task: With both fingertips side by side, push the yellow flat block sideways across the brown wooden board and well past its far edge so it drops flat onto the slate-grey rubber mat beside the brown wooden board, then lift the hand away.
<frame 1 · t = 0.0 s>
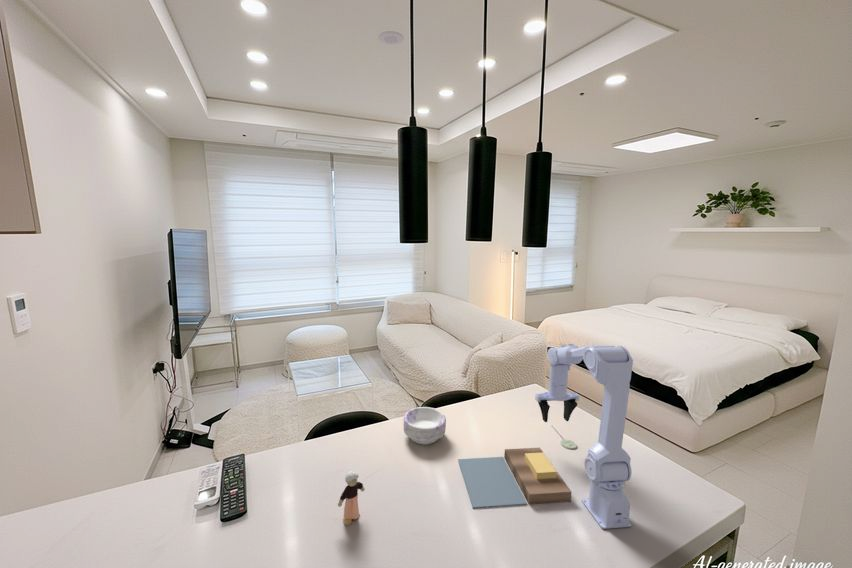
hand: (555, 420, 117), 10 cm above the counter, tool pointing down, fingers open, 7 cm apart
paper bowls: (424, 437, 124), on the counter
mat: (489, 480, 102), on the counter
grandmother figurine: (352, 517, 88), on the counter
pale green spoon: (561, 438, 125), on the counter
yellow flat block: (539, 468, 103), point 3 cm above the counter, touching brown wooden board
brown wooden board: (534, 477, 103), on the counter
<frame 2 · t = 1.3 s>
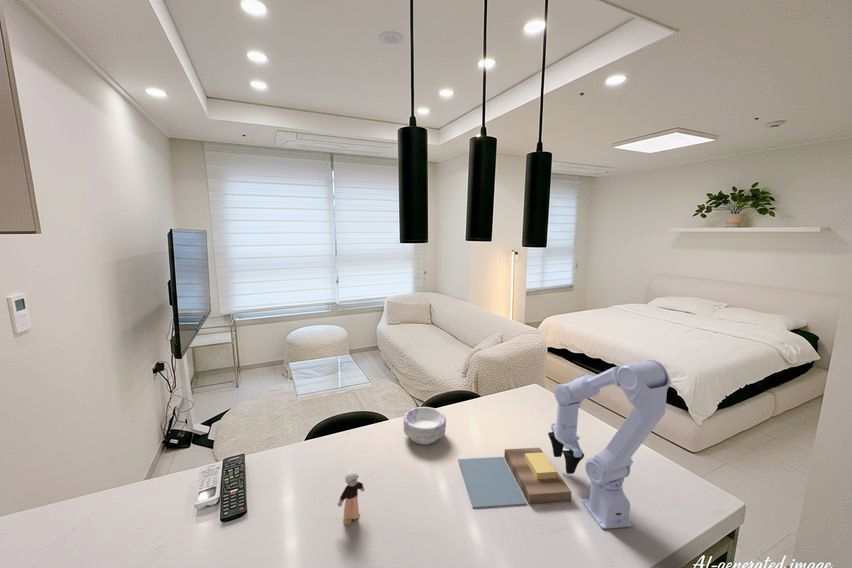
hand: (563, 464, 104), 4 cm above the counter, tool pointing down, fingers open, 7 cm apart
nothing on the counter moved.
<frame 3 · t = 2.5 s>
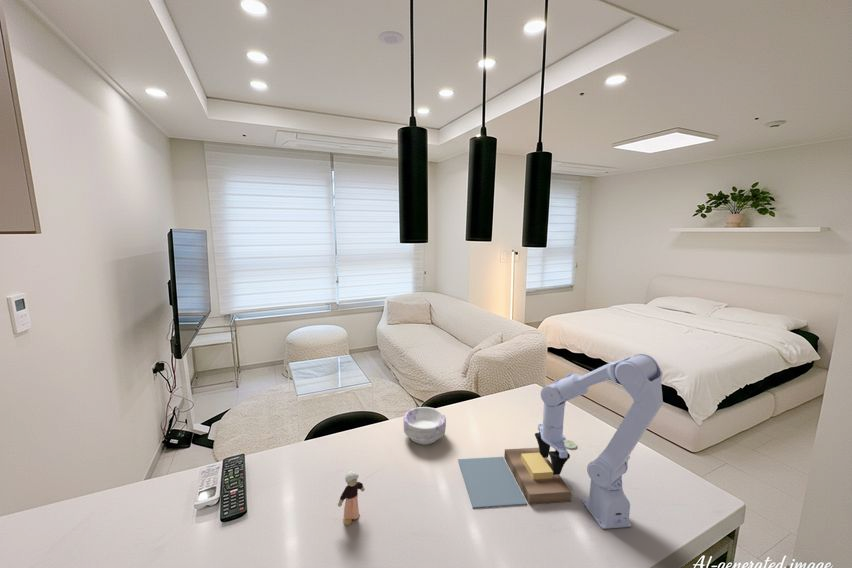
hand: (550, 465, 103), 4 cm above the counter, tool pointing down, fingers open, 7 cm apart
yellow flat block: (536, 468, 103), point 3 cm above the counter, touching brown wooden board, gripper
everything else where it was.
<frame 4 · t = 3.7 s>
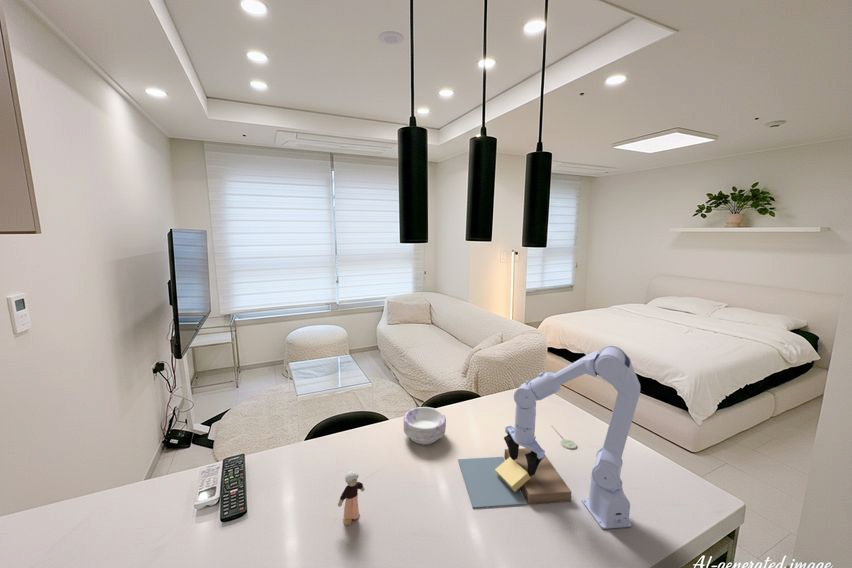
hand: (522, 466, 102), 4 cm above the counter, tool pointing down, fingers open, 7 cm apart
yellow flat block: (513, 476, 100), point 2 cm above the counter, tilted 28°, touching gripper
everything else where it was.
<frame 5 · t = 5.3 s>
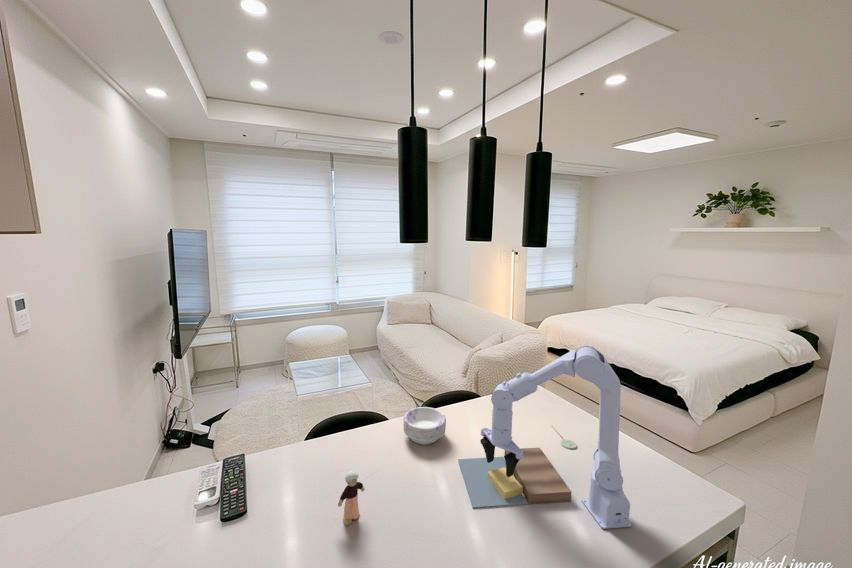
hand: (499, 468, 102), 4 cm above the counter, tool pointing down, fingers open, 7 cm apart
yellow flat block: (504, 485, 99), resting on mat
everything else where it was.
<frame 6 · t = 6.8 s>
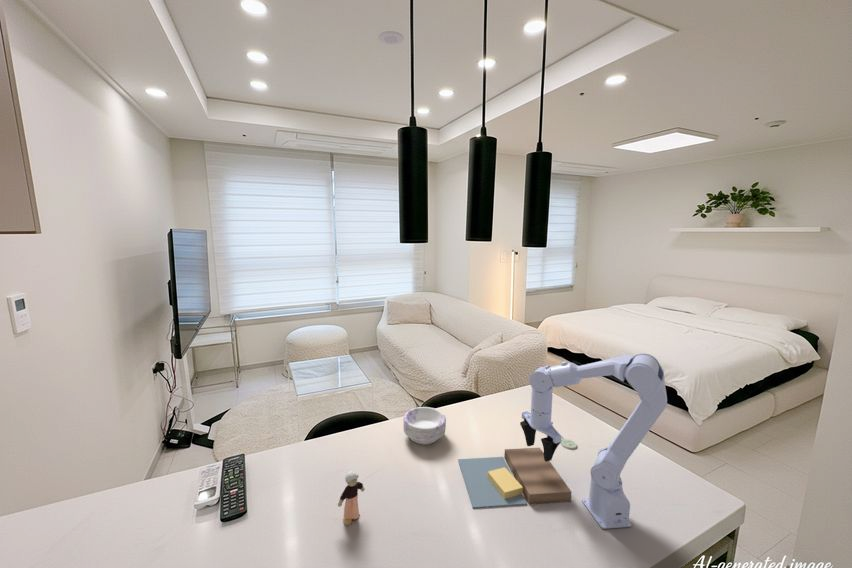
hand: (538, 452, 101), 9 cm above the counter, tool pointing down, fingers open, 7 cm apart
nothing on the counter moved.
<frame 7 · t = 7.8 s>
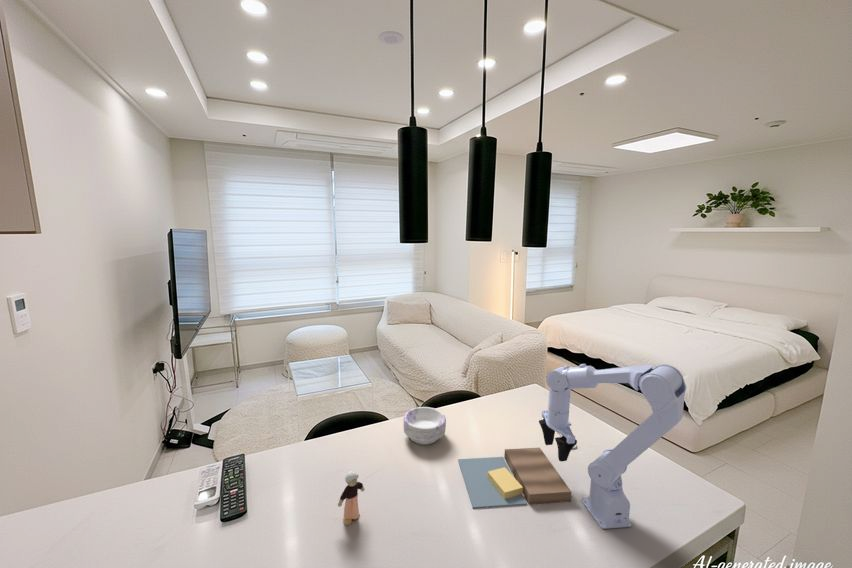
hand: (555, 452, 101), 9 cm above the counter, tool pointing down, fingers open, 7 cm apart
nothing on the counter moved.
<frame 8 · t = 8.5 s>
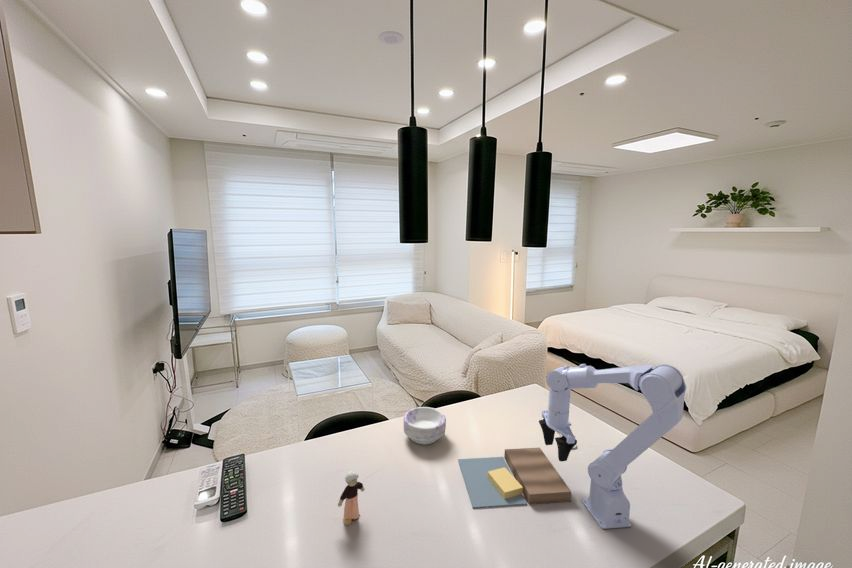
hand: (555, 452, 101), 9 cm above the counter, tool pointing down, fingers open, 7 cm apart
nothing on the counter moved.
at the end: yellow flat block inside the target area (4.6 cm from its centre), resting on mat; yellow flat block touching mat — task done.
